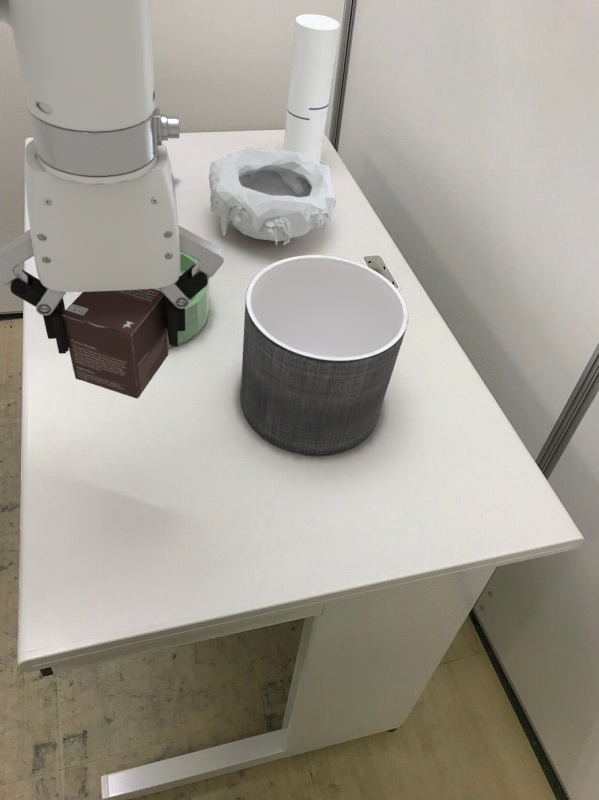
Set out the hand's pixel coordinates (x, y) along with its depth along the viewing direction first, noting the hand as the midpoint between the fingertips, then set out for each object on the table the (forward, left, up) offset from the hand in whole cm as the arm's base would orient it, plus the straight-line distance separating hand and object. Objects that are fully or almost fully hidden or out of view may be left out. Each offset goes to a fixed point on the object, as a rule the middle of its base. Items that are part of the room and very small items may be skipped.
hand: (119, 337), depth 53 cm
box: (0, 0, -4) cm, 4 cm away
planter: (+22, +10, -22) cm, 33 cm away
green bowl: (+4, +29, -22) cm, 37 cm away
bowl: (+25, +49, -22) cm, 59 cm away
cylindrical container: (+35, +68, -22) cm, 80 cm away
